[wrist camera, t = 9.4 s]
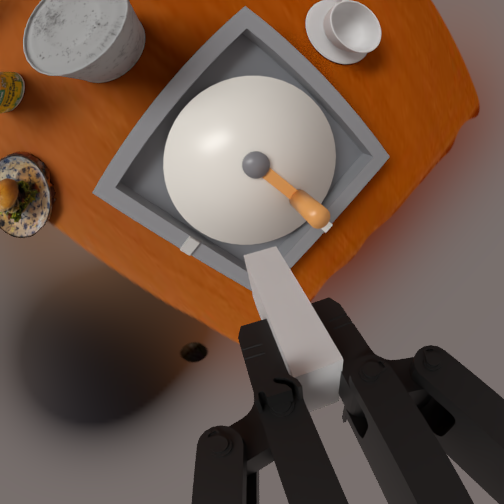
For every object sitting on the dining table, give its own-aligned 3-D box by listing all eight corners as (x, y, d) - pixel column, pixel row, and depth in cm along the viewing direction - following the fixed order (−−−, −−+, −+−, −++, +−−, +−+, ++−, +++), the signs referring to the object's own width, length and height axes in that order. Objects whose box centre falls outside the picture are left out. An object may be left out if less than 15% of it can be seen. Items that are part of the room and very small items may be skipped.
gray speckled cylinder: (125, -2, 21) (103, -44, 10) (159, 52, 26) (148, 27, 16) (58, 43, 21) (10, 26, 11) (90, 98, 26) (48, 99, 16)
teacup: (375, 62, 32) (395, 61, 28) (314, 67, 31) (331, 65, 27) (359, 1, 26) (378, -6, 22) (295, 0, 26) (310, -10, 22)
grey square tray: (237, 16, 26) (246, 5, 21) (371, 149, 38) (391, 157, 34) (101, 181, 32) (91, 193, 28) (255, 279, 44) (263, 299, 40)
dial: (131, 183, 31) (118, 207, 24) (239, 43, 26) (257, 27, 19) (260, 262, 40) (278, 298, 33) (355, 150, 35) (392, 165, 28)
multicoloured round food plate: (-9, 224, 29) (-34, 248, 23) (-6, 146, 25) (-36, 159, 18) (54, 240, 34) (34, 268, 27) (62, 157, 29) (37, 172, 23)
